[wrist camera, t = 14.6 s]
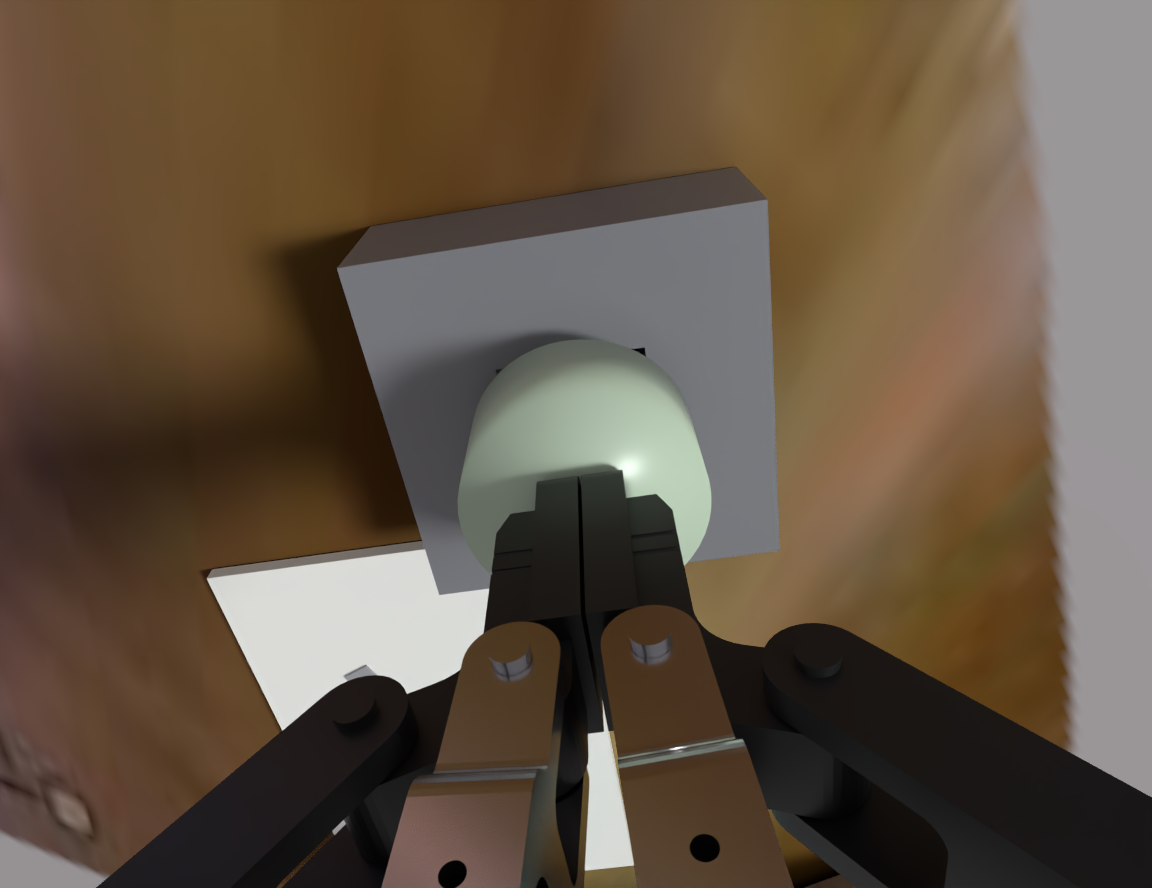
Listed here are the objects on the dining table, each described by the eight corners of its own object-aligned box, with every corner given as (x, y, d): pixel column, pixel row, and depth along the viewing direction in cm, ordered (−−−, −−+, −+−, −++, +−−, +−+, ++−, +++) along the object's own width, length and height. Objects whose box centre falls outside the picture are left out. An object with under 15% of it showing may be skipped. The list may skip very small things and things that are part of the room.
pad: (212, 569, 22) (205, 580, 22) (567, 521, 21) (567, 532, 21) (366, 883, 29) (363, 896, 29) (633, 854, 29) (634, 868, 28)
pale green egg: (466, 299, 18) (430, 418, 13) (663, 269, 17) (701, 378, 13) (505, 465, 20) (487, 620, 15) (681, 441, 20) (719, 590, 15)
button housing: (370, 226, 17) (337, 268, 15) (735, 166, 17) (767, 199, 14) (454, 520, 21) (439, 595, 19) (752, 479, 21) (779, 550, 18)
